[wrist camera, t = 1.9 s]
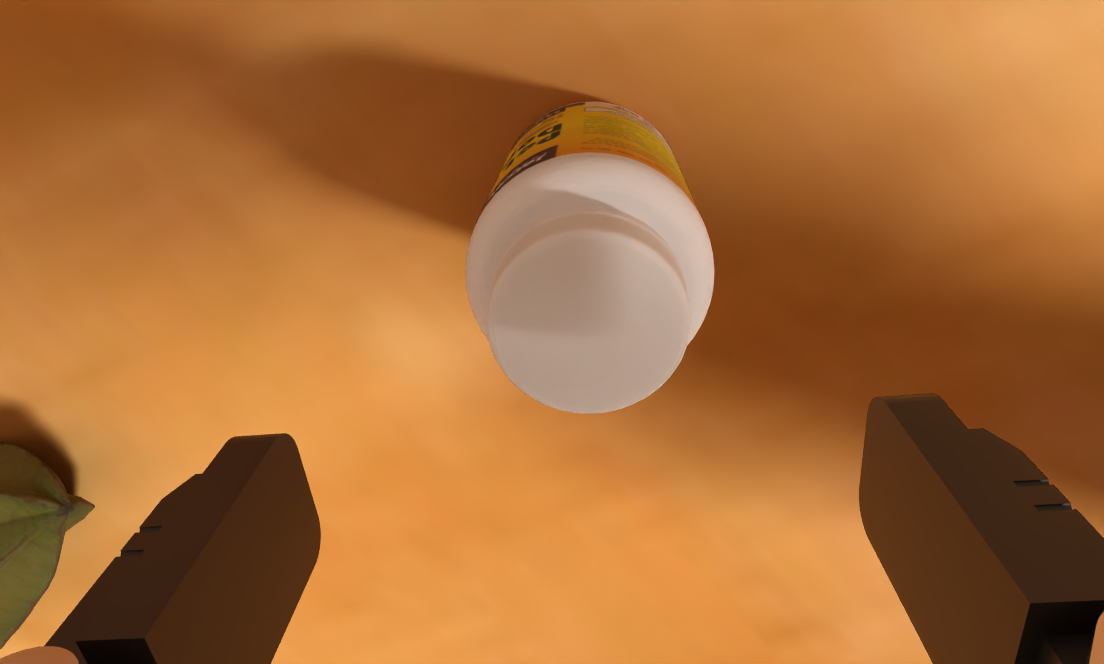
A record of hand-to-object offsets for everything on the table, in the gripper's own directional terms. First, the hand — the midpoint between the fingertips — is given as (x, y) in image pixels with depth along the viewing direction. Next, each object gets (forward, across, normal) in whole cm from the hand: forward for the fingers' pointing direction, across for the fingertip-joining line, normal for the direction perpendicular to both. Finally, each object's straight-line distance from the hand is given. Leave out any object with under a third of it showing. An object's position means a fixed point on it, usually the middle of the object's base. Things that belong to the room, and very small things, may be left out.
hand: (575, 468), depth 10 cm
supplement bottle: (+14, 0, 0) cm, 15 cm away
